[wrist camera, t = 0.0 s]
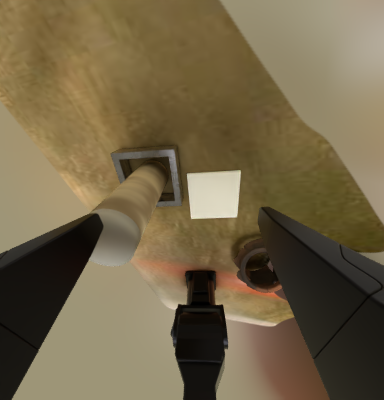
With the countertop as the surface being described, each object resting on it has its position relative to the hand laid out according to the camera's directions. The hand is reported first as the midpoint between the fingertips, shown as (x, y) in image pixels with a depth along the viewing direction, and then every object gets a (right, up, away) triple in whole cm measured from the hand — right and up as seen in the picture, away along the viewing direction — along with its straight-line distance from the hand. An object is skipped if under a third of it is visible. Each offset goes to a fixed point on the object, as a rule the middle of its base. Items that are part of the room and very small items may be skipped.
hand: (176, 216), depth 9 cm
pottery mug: (+14, -10, +22) cm, 28 cm away
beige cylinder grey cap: (-5, +5, +15) cm, 16 cm away
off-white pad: (+4, +2, +16) cm, 17 cm away
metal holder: (-5, +5, +15) cm, 16 cm away
